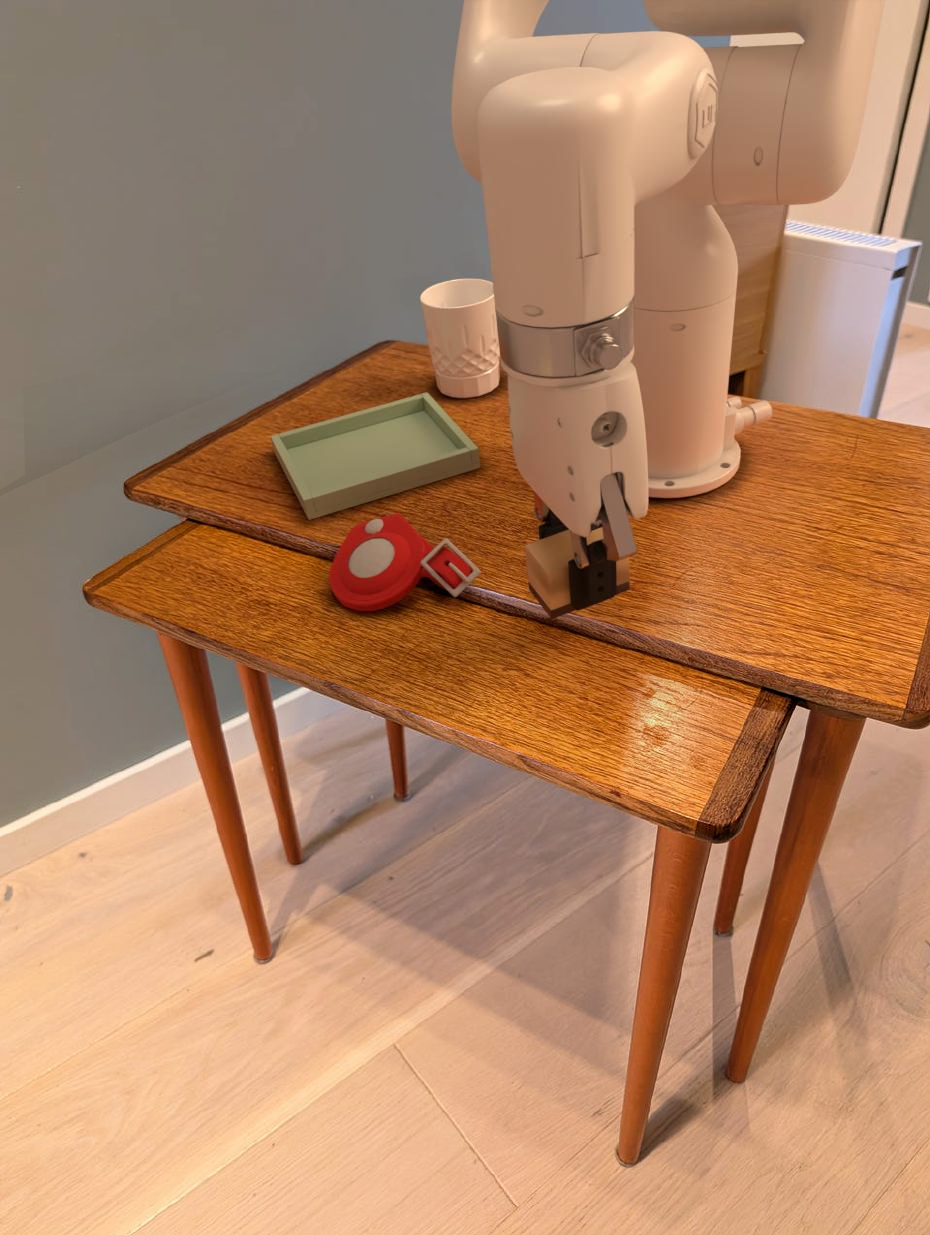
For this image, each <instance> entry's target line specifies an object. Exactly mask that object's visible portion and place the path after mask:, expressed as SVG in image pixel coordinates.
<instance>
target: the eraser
mask: <svg viewBox="0 0 930 1235" xmlns="http://www.w3.org/2000/svg"><path fill="white" fill-rule="evenodd" d="M586 539H587V545H589V544H591V543H592V542H595V541H597V540H600V539H603V530H602V527H601V528H598V529H596V530H593V531H592V532H591V533H590V536H589V537H586ZM524 553H525V565H526V572H527V581H528V584H527V585H528V590H529V592H530V593H531V594H532V596H533V597H534V598H535V600H536V601H537V602H538V604H539V605H540V606H541V608H542V609H543V610H544V612H545V613H546V615H548V616H549V618H550V619H551V620H554V619H556V618H560V617H562V616H564V615H567V614H571V613H572V612H576V610H575V609H574V608H573V606H572V605H571V599H570V583H569V567H568V561H570V560H572V559H574V556H573V549H572V541H571V534H570V529H569V530H566V531H563V532H560V533H558V534H555V535H552V536H549V537H546V538H543V539H541V540H539V539H538V540H535V541H533V542H529V543H527V544H525V545H524ZM616 573H617V593H616V595H615V596H617V595H620V594H623V593H625V592H628V591H630V585H631V584H630V576H631V575H630V557H628V558H625V559H622V560H620V561H616Z"/></svg>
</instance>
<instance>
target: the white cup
mask: <svg viewBox="0 0 930 1235" xmlns="http://www.w3.org/2000/svg"><path fill="white" fill-rule="evenodd" d="M419 301H420V306H421V307H420V308H421V312H422V317H423V322H424V323H423V324H424V328H425V333H426V340H427V345H428V349H429V352H430V359H431V362H432V366H433V369H434V375H435V376H434V377H435V379H436V380H435V381H436V387H437V389H438V390H439V392H440V393H441V394H442V395H445V396H447V397H450V398H455V399H456V398H457V399H470V398H476V397H481V396H484V395H487V394H489V393H491V392H492V391H494V390H495V389H496V388H498V386H499V384H500V379H501V373H500V370H501V369H500V350H499V340H498V330H497V321H496V311H495V300H494V291H493V281H489V280H486V279H481V278H457V279H450V280H446V281H443V282H439V283H436V284H433V285H431V286H429V287H427V288H426V289H425V290H423V291H422V292H421V294H420V295H419Z"/></svg>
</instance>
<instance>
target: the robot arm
mask: <svg viewBox="0 0 930 1235" xmlns="http://www.w3.org/2000/svg"><path fill="white" fill-rule="evenodd" d="M549 2H550V0H463V4H462V5H463V7H462V10H461V17H460V18H461V19H460V24H459V31H458V38H457V45H456V50H455V59H454V67H453V76H452V85H451V86H452V87H451V103H450V104H451V105H450V116H451V131H452V138H453V143H454V147H455V150H456V154H457V156H458V159H459V161H460V164H462V166H463V168H464V169H465V171H466V172H467V173H468V175H469V176H470V177H471V178H472V179H474V180H475V181H477V182H478V183H479V184H481V187H482V195H483V204H484V205H483V206H484V214H485V215H484V216H485V225H486V232H487V243H488V251H489V260H490V271H491V282H492V283H493V291H494V300H495V311H496V321H497V330H498V340H499V350H500V359H499V362H500V366H501V369H502V370H503V371H504V373H506V374H507V398H508V401H507V402H508V415H509V416H508V417H509V428H510V438H511V447H512V452H513V453H512V454H513V458H514V462H515V466H516V468H517V470H518V472H519V474H520V475H521V477H522V479H523V480H524V481H525V483H526V484H527V485H528V486H529V487H530V488H531V489H532V490H533V509H534V510H533V511H534V515H535V518H536V520H537V522H538V523H539V524H540V525H537V531H538V540H541V539H543V538H546V537H549V536H552V535H555V534H558V533H560V532H563V531H566V530H569V529H570V534H571V541H572V549H573V556H574V559H572V560H570V561H568V567H569V583H570V599H571V605H572V606H573V608H574V609H575V611H576V612H577V611H581V610H584V609H587V608H589V607H593V606H595V605H598V604H600V603H602V602H605V601H608V600H610V599H612V598H614V597H616V596H617V595H616V593H617V573H616V561H620V560H622V559H625V558H628V557H629V558H631V557H634V556H635V555H637V554H638V548H637V547H638V546H637V543H636V540H635V536H634V533H633V529H632V526H631V522H630V518H629V516H630V517H631V518H632V519H634V521H636V520H638V519H643V518H645V517H646V515H647V513H648V509H649V498H653V499H680V498H687V497H694V496H697V495H702V494H705V493H708V492H711V491H713V490H715V489H718V488H719V487H721V486H723V485H724V484H726V483H728V482H729V481H730V480H731V479H732V478H733V477H734V476H736V473H737V472H738V470H739V468H740V463H741V455H742V454H741V452H742V451H741V447H740V445H739V442H738V441H737V439H735V436H737V435H741V433H742V432H743V430H744V429H746V428H749V427H750V428H751V427H754V426H757V425H760V424H764V423H766V422H770V421H771V420H772V418H773V407H772V406H771V404H770V402H768V401H767V400H759V401H756V402H752V403H750V404H747V405H745V406H744V407H743V402H742V400H741V398H740V397H739V396H737V395H735V396H732V397H728V394H729V382H730V369H731V357H732V348H733V347H732V345H733V336H734V335H733V334H734V324H735V323H734V322H735V321H734V320H735V310H736V300H737V289H738V278H739V277H738V276H739V262H738V254H737V250H736V246H735V244H734V241H733V240H732V237H731V234H730V233H729V231H728V229H727V227H726V226H725V224H724V222H723V220H722V219H721V217H720V216H719V214H718V212H717V211H716V210H715V208H714V206H721V205H747V206H748V205H749V206H750V205H754V206H759V205H760V206H783V205H784V206H789V205H790V206H797V205H799V206H800V205H810V204H816V203H821V202H822V201H825V200H827V199H829V198H831V197H832V196H833V195H835V194H836V193H837V192H838V191H839V190H840V189H841V188H842V186H843V185H844V183H845V182H846V180H847V178H848V176H849V173H850V172H851V168H852V166H853V163H854V161H855V156H856V153H857V149H858V145H859V142H860V136H861V133H862V132H861V131H862V127H863V122H864V116H865V111H866V106H867V100H868V95H869V88H870V83H871V79H872V73H873V67H874V61H875V56H876V51H877V46H878V41H879V40H878V39H879V35H880V29H881V24H882V18H883V13H884V7H885V2H886V0H642V3H643V6H644V10H645V13H646V16H647V18H648V20H650V22H651V23H652V25H653V26H654V27H655V28H657V29H658V30H649V31H648V30H647V31H630V32H629V31H627V32H611V33H599V32H590V33H574V34H572V33H571V34H557V35H556V34H555V35H541V36H539V35H538V36H533V35H534V32H535V30H536V27H537V25H538V23H539V20H540V17H541V16H542V14H543V12H544V11H545V9H546V7H547V5H548V3H549ZM786 33H793V34H794V33H795V34H796V35H799V37H801V39H803V40H804V41H803V42H802V43H792V44H791V43H790V44H789V43H788V44H771V45H769V44H768V45H751V46H749V45H747V46H738V45H728V46H709V47H702V46H701V45H700V44H699V43H698V42H697V41H695V40H694V39H692V38H691V37H731V36H733V37H734V36H750V35H751V36H752V35H765V34H766V35H769V34H786ZM601 527H602V530H603V539H600V540H597V541H595V542H592V543H591V544H589V545H587V539H586V537H589V536H590V533H591V532H592V531H593V530H596V529H598V528H601Z"/></svg>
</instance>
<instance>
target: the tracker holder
mask: <svg viewBox="0 0 930 1235" xmlns="http://www.w3.org/2000/svg"><path fill="white" fill-rule="evenodd" d="M445 546H447V547H448V548H449V549H448V548H447V547H445ZM450 549H451V550H450ZM481 573H482V571H481V570H480V568H478V567H477V565H476V564H474V563H473V561H471V559H469V558H468V557H467V555H465V554H464V553H463V552H462V551H461V550H460V549H459V548H458V547H457V546H456V545H454V543H453V542H452V541H451V540H449V539H448V538H447V537H446V538H444V539H443V540H441V542H439V543H438V544H437V545H436V546H434V545H432V544H431V543H430V542H429V541H428V540H426V539H425V538H424V537H423V536H421V535H420V533H418V532H417V531H416V529H415V528H414V527H413V526H412V524H411V523H410V522H409V521H408V520H407V519H406V518H405V517H404V515H402V514H401V513H398V512H397V513H392V514H389V515H385V516H381V517H378V518H374V519H371V520H368V521H364V522H361V523H358V524H356V525H354V526H353V527H352V528H351V529H350V530H349V532H348V534H347V536H346V537H345V539H344V540H343V542H342V543H341V545H340V547H339V549H338V550H337V552H336V555H335V557H334V559H333V561H332V563H331V566H330V569H329V572H328V582H329V586H330V589H331V591H332V593H333V595H334V596H335V598H336V599H337V600H338V602H339V603H341V604H342V605H343V606H344V607H345V608H348V609H351V610H354V611H356V612H357V611H359V612H373V611H374V612H375V611H379V610H383V609H387V608H388V607H390V606H392V605H394V604H396V603H397V602H399V601H401V600H402V599H404V598H405V597H407V595H408V594H410V593H411V592H412V591H413V589H415V587H416V586H417V584H419V582H420V580H421V579H422V578H428V579H429V580H431V582H432V583H433V584H435V586H438V587H439V588H441V589H443V590H445V591H447V592H448V593H449V594H450V595H451V596H452V597H453V598H457V597H459V595H460V594H461V593H462V592H464V591H465V589H466V588H467V587H469V585H470V584H471V583H472V582H473V581H474V580H476V579H477V578H478V577H479V576H480V575H481Z"/></svg>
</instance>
